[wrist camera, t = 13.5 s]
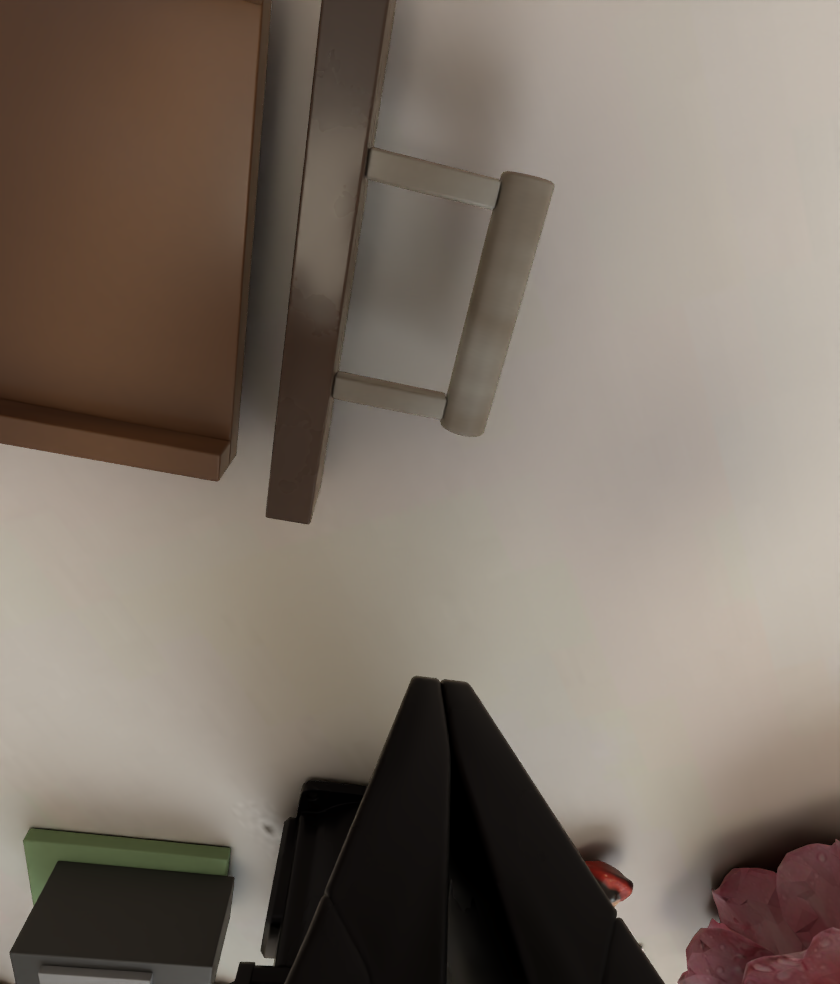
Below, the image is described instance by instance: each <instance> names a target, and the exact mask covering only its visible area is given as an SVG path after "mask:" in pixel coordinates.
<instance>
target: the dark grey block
mask: <svg viewBox="0 0 840 984" xmlns="http://www.w3.org/2000/svg"><path fill="white" fill-rule="evenodd" d="M233 887H234V877H232V876H221V875H210V874H199V873H188V872H177V871H166V870H155V869H144V868H133V867H122V866H111V865H100V864H89V863H79V862H68V861H57V863H56V865H55V867H54V869H53V871H52V873H51V874H50V876H49V878H48V880H47V882H46V884H45V886H44V888H43V890H42V892H41V894H40V895H39V897H38V899H37V901H36V903H35V905H34V907H33V909H32V911H31V913H30V914H29V916H28V918H27V920H26V922H25V924H24V926H23V928H22V930H21V932H20V934H19V935H18V937H17V939H16V941H15V943H14V945H13V947H12V949H11V951H10V958H11V962H12V967H13V972H14V976H15V981H16V984H214V981H215V977H216V973H217V968H218V964H219V960H220V956H221V952H222V948H223V944H224V939H225V935H226V931H227V927H228V923H229V919H230V913H231V904H232V895H233Z"/></svg>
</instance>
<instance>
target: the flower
mask: <svg viewBox="0 0 840 984" xmlns="http://www.w3.org/2000/svg"><path fill="white" fill-rule="evenodd" d="M835 840H836V841H835V842H834V843H833V844H832V845H825V844H819V843H816V844H809V845H806V846H803V847H801V848H798V849H796V850H793V851H791V852H788V853H787V854H786V856H785V857H784V859H783V860H782V862H781V864H780V865H779V867H778V869H777V874H776V873H775V872H773V871H769V870H766V869H762V868H736V869H732V870H731V871H730V872H729V873H728V874H727V875H726V876H725V878H724V880H723V882H722V883H721V885H720V887H719V888H718V889H716V890H714V889H712V894H713V898H714V901H715V903H716V906H717V909H718V914H719V918H720V922H721V923H718V922H716V921H715V920H714V919H713V918H712V919H711V921H710V924H709V926H708V928H701V929H700V930H699V931H698V932H697V933H696V934H695V936H694V937H693V938H692V940H691V942H690V943H689V945H688V947H687V949H686V957H687V968H688V971H686V972H684V973H682V975H681V977H680V979H679V980H678V984H840V841H838V840H837V839H835Z"/></svg>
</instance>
